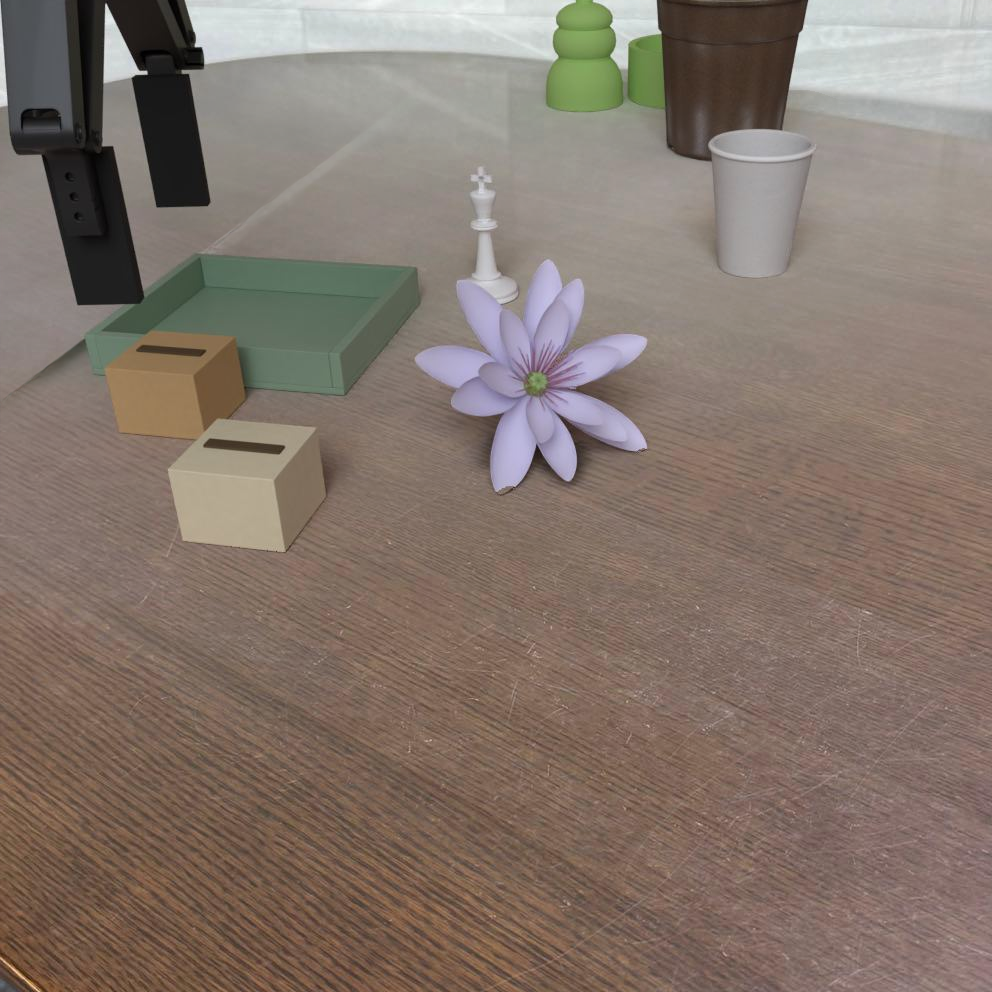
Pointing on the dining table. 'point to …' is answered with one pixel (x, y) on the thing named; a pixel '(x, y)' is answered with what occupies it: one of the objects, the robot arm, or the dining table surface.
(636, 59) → the green stacking toy
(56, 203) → the robot arm
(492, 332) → the water lily
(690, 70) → the plant pot
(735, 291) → the dining table surface
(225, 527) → the beige slotted box
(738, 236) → the dixie cup
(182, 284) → the tray
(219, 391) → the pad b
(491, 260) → the chess piece
